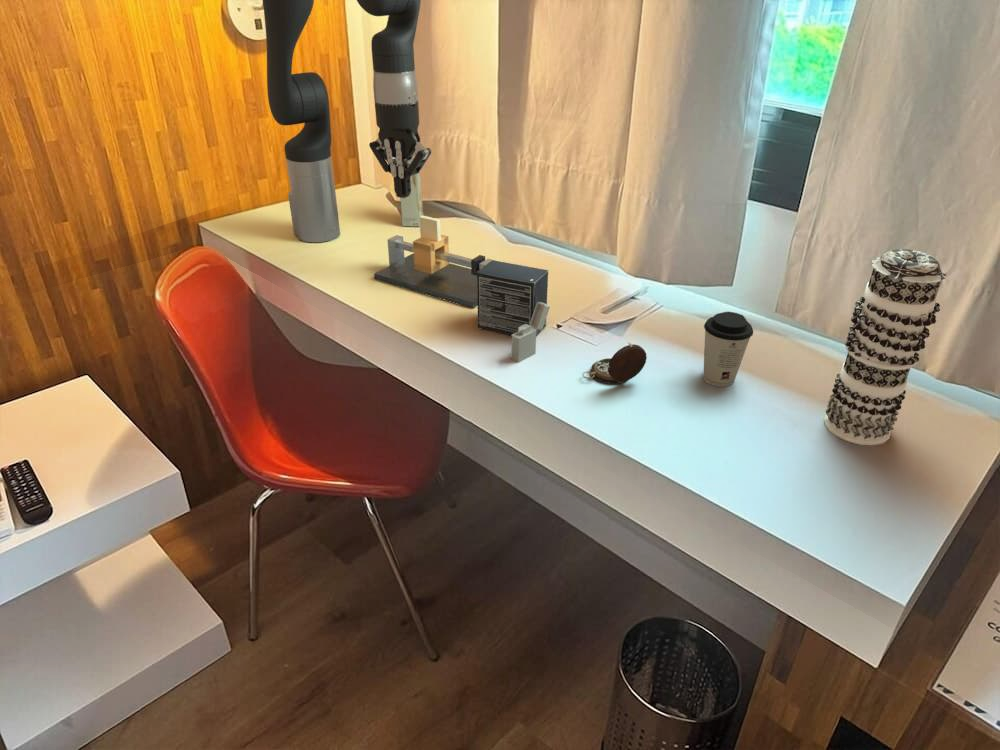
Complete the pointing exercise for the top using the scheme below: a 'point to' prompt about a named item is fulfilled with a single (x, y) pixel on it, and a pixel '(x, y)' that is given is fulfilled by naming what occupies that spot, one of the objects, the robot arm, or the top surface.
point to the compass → (620, 365)
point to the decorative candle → (884, 345)
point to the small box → (509, 296)
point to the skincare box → (412, 203)
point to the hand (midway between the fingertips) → (403, 196)
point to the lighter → (528, 334)
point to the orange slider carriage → (429, 246)
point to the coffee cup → (725, 347)
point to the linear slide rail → (442, 283)
